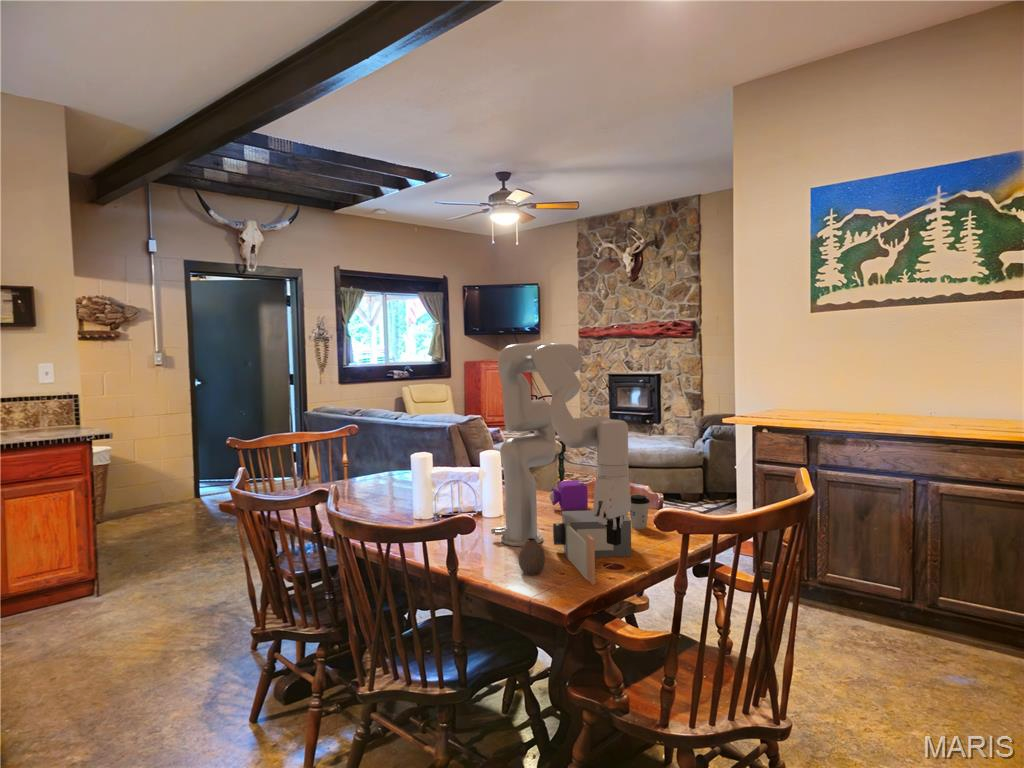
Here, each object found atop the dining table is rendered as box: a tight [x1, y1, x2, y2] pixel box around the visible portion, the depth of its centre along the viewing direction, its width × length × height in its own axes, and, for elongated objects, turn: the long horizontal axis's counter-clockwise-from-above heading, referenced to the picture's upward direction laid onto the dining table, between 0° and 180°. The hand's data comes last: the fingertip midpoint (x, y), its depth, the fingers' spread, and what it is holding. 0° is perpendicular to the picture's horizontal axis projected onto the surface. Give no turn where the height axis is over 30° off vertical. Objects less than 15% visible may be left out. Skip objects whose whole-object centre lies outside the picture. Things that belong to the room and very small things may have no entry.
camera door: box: [565, 523, 596, 585], centre depth 157 cm, size 22×1×12 cm, turn 11°
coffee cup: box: [629, 494, 650, 530], centre depth 195 cm, size 7×7×10 cm
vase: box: [518, 538, 546, 576], centre depth 158 cm, size 7×7×9 cm
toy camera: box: [549, 480, 589, 511], centre depth 221 cm, size 11×14×10 cm
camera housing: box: [552, 509, 632, 559], centre depth 174 cm, size 21×12×11 cm, turn 90°
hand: (613, 543), depth 150 cm, fingers closed
